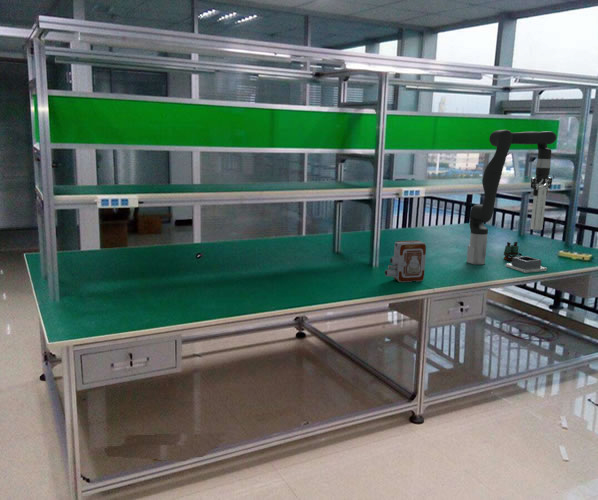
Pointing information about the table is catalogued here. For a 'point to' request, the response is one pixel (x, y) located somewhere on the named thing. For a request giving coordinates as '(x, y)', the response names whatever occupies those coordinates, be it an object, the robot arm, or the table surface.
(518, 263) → the mount
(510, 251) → the binoculars
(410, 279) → the cine camera
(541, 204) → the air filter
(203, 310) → the table surface
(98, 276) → the table surface
